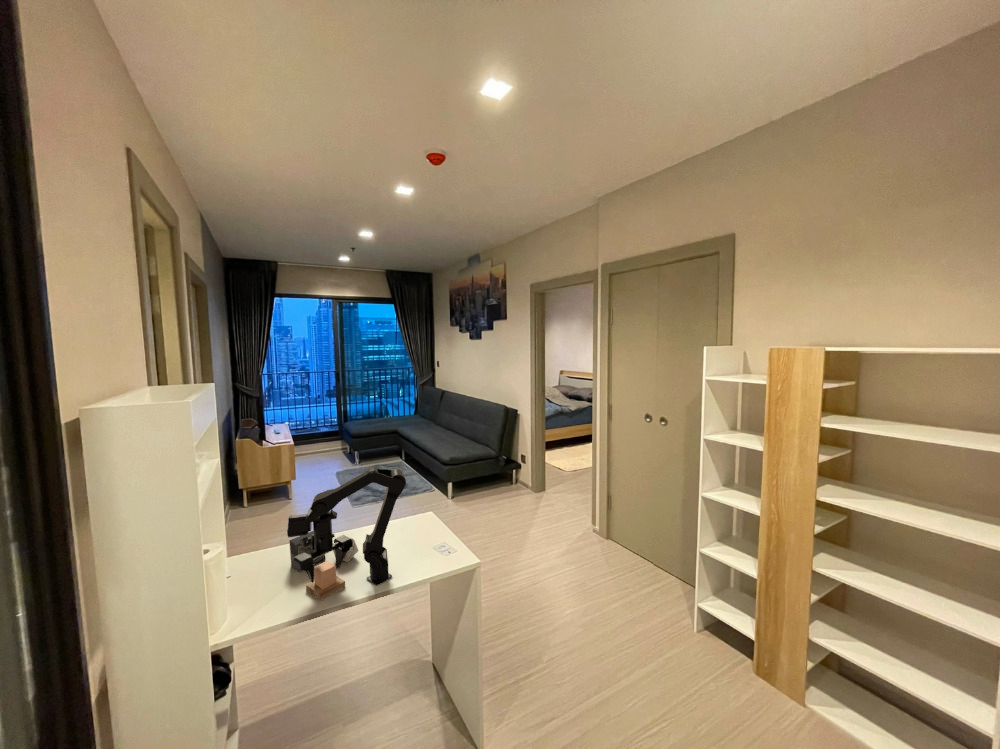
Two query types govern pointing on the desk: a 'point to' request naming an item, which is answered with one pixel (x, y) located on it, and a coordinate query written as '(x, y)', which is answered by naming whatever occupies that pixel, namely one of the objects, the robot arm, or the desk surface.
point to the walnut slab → (325, 589)
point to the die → (350, 552)
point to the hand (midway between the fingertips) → (325, 575)
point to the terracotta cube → (325, 574)
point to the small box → (302, 549)
